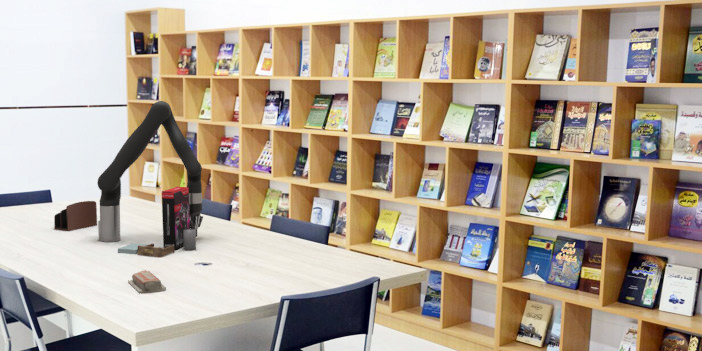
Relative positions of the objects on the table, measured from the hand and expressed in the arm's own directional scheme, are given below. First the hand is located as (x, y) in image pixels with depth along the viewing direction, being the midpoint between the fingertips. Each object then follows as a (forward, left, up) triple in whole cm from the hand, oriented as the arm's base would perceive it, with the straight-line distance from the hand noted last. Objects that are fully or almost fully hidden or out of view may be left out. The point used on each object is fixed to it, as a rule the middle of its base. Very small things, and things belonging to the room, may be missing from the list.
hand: (194, 236), depth 372 cm
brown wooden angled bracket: (0, -33, -1) cm, 33 cm away
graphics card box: (0, -17, -2) cm, 17 cm away
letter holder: (-72, +2, -2) cm, 72 cm away
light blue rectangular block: (-12, -32, -2) cm, 34 cm away
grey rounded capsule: (+9, -20, -2) cm, 22 cm away
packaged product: (+28, -81, -2) cm, 86 cm away
